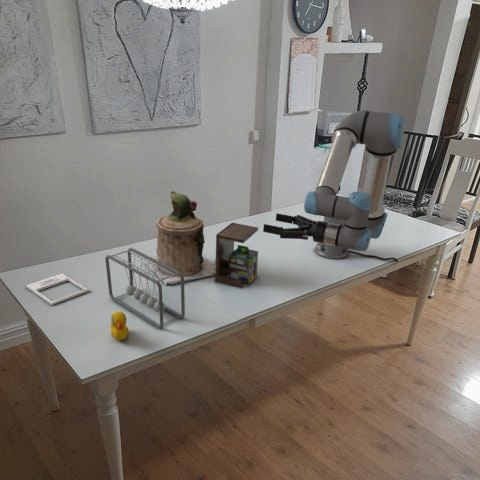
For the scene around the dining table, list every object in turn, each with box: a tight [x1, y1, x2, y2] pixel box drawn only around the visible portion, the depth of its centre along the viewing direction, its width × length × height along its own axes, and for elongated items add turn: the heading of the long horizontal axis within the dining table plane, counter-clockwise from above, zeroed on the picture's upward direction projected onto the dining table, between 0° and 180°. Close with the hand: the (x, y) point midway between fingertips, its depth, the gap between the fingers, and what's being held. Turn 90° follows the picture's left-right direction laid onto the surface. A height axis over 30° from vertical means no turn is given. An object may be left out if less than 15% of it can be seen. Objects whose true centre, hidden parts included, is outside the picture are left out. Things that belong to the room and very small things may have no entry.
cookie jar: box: [143, 190, 216, 286], centre depth 186 cm, size 25×25×32 cm
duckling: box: [110, 311, 130, 341], centre depth 147 cm, size 11×5×10 cm, turn 20°
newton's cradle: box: [104, 247, 186, 329], centre depth 161 cm, size 30×10×18 cm, turn 48°
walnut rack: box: [214, 222, 259, 289], centre depth 185 cm, size 11×15×20 cm
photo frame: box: [26, 273, 89, 306], centre depth 174 cm, size 15×1×18 cm
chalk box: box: [227, 244, 259, 286], centre depth 185 cm, size 9×9×15 cm
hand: (270, 222), depth 173 cm, fingers open, 13 cm apart
